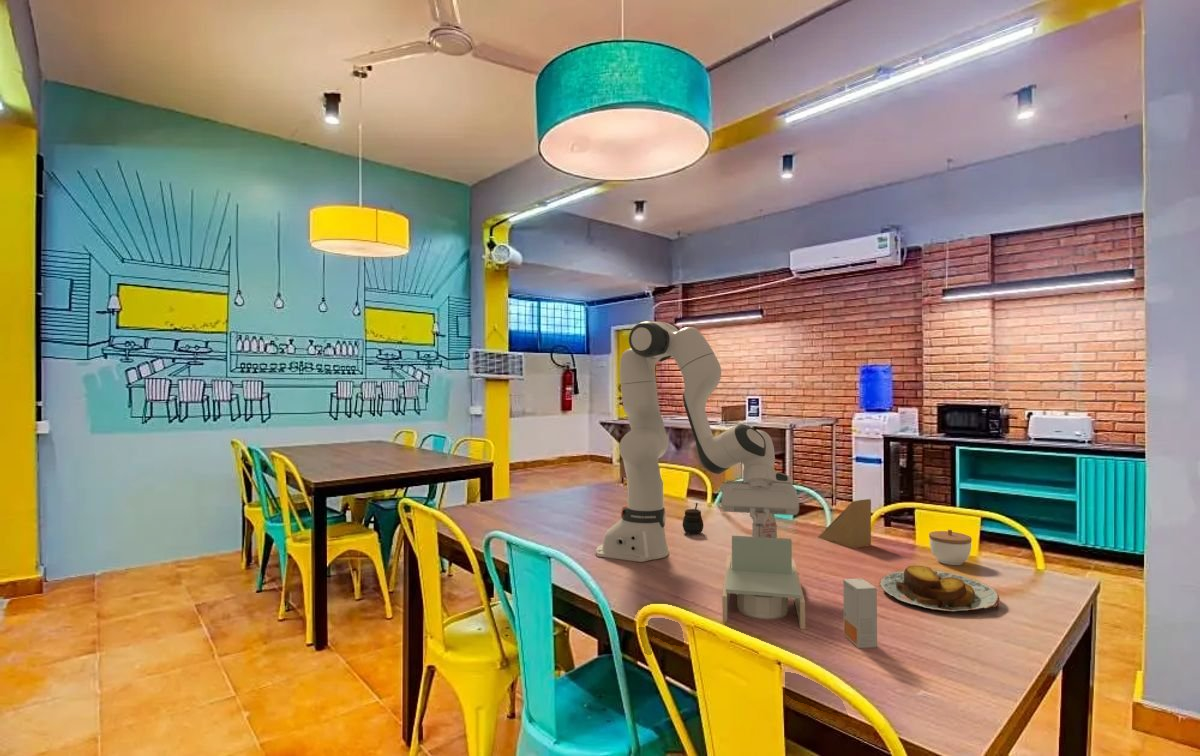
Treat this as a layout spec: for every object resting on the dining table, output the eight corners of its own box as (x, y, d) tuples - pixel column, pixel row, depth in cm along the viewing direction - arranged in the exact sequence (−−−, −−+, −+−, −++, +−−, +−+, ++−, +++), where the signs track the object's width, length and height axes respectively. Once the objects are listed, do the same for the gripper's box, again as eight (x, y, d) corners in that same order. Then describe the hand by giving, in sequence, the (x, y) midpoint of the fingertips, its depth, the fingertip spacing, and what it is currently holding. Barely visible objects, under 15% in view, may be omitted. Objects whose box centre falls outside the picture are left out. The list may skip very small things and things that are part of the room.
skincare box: (842, 635, 125) (842, 578, 125) (862, 635, 126) (862, 577, 126) (857, 648, 119) (857, 588, 119) (878, 647, 120) (877, 587, 120)
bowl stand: (722, 621, 133) (722, 595, 133) (727, 575, 164) (727, 554, 164) (805, 629, 129) (805, 602, 129) (794, 580, 160) (794, 559, 160)
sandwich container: (834, 534, 208) (834, 491, 208) (871, 545, 194) (871, 498, 194) (816, 537, 204) (815, 493, 204) (852, 548, 190) (852, 501, 190)
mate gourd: (680, 535, 208) (680, 506, 208) (685, 529, 215) (684, 501, 215) (701, 536, 205) (701, 507, 205) (705, 531, 212) (705, 503, 212)
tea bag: (752, 542, 198) (752, 511, 198) (770, 540, 200) (770, 510, 200) (758, 544, 195) (758, 514, 195) (776, 543, 197) (776, 512, 197)
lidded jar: (931, 565, 172) (931, 532, 172) (927, 555, 182) (926, 524, 182) (975, 569, 168) (974, 536, 168) (967, 558, 178) (967, 527, 178)
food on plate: (1025, 611, 138) (1024, 583, 138) (936, 623, 132) (935, 594, 132) (936, 576, 163) (936, 552, 163) (858, 585, 157) (858, 560, 157)
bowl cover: (725, 592, 134) (725, 553, 134) (728, 570, 150) (727, 535, 150) (801, 598, 130) (800, 558, 130) (795, 575, 146) (795, 539, 146)
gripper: (720, 473, 167) (719, 516, 158) (797, 476, 162) (800, 521, 153) (721, 487, 172) (719, 529, 162) (796, 490, 167) (799, 534, 157)
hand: (759, 525), depth 157 cm, fingers closed
